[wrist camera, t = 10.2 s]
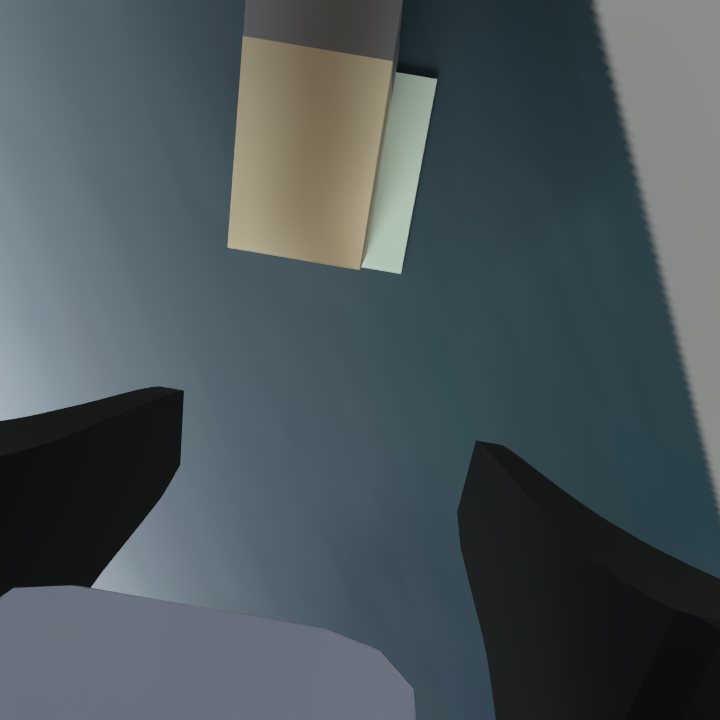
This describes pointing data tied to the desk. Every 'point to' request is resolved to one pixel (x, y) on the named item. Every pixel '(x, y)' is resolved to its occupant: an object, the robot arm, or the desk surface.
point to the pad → (399, 171)
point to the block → (312, 126)
